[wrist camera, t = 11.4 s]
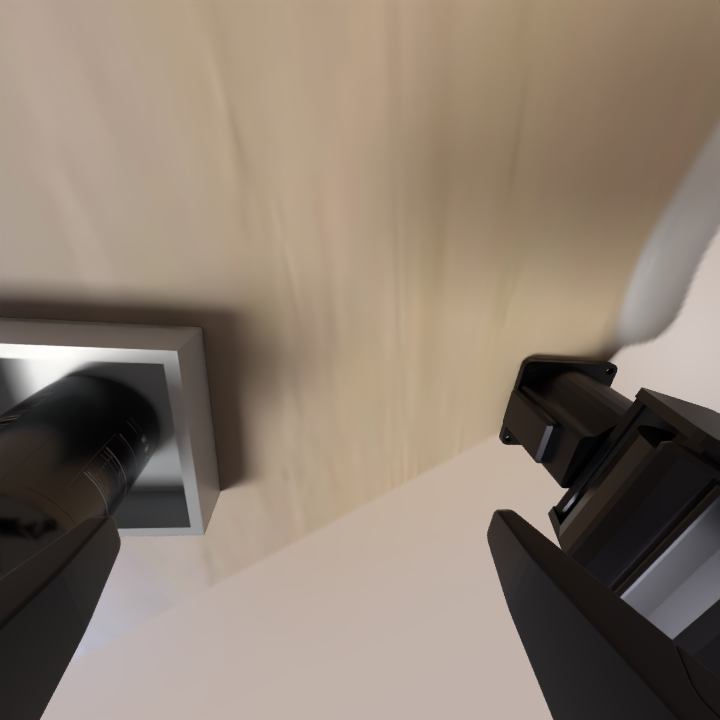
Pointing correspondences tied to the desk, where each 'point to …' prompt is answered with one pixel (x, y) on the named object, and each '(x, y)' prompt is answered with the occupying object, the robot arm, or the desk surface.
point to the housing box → (151, 381)
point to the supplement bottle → (68, 460)
